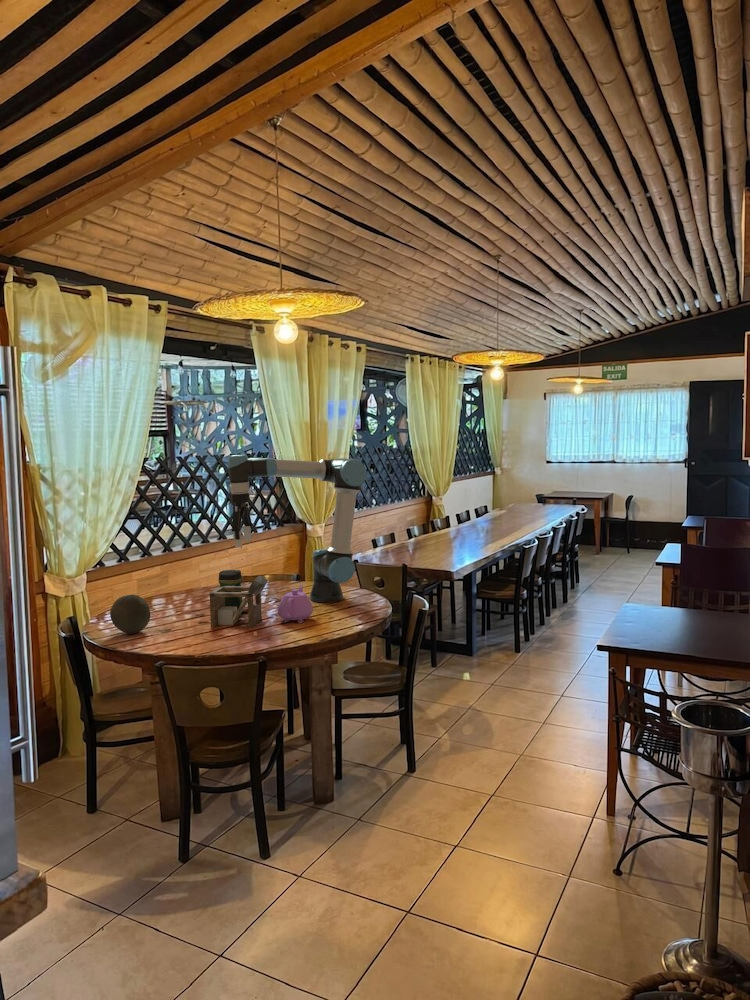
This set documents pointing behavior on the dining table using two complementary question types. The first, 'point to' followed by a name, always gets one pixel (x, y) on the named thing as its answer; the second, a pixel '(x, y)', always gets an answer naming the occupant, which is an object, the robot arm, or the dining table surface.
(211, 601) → the hatch frame
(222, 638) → the dining table surface
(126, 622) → the dark grey ball
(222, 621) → the grey cube
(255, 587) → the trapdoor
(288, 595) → the pink rounded figure
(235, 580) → the coffee jar
